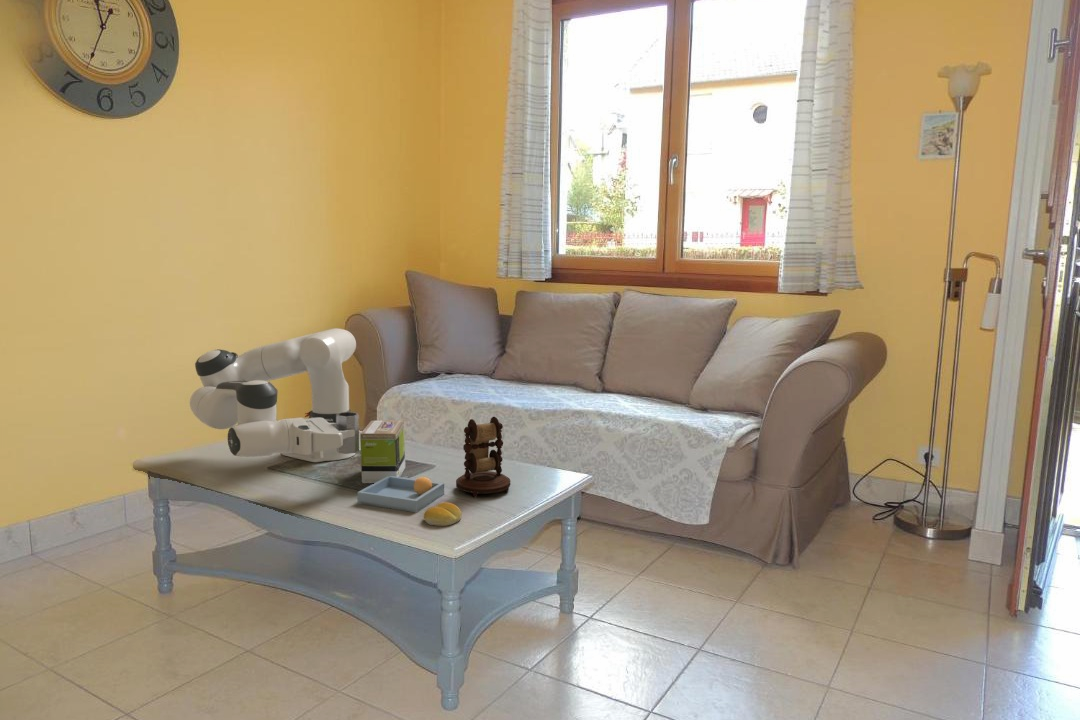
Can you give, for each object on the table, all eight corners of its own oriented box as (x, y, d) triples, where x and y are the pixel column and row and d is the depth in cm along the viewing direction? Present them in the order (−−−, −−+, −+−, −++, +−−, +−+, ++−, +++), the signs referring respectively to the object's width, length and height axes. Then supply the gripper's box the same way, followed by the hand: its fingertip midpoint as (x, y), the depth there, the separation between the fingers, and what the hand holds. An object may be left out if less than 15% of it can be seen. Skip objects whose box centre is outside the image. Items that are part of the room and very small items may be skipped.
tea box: (372, 467, 226) (371, 419, 224) (406, 468, 226) (405, 419, 224) (360, 484, 212) (359, 432, 209) (397, 484, 212) (396, 432, 209)
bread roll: (417, 522, 184) (417, 506, 184) (442, 512, 192) (442, 496, 191) (442, 530, 180) (442, 514, 179) (467, 519, 187) (467, 503, 186)
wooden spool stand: (495, 478, 219) (495, 409, 215) (520, 493, 206) (521, 421, 203) (447, 485, 211) (447, 415, 208) (470, 502, 199) (470, 427, 195)
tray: (357, 503, 196) (357, 492, 196) (388, 486, 210) (388, 475, 210) (416, 512, 190) (416, 501, 190) (444, 494, 204) (444, 483, 204)
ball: (434, 489, 204) (418, 496, 204) (427, 472, 204) (411, 480, 203) (434, 491, 199) (417, 499, 199) (427, 474, 199) (410, 482, 199)
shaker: (340, 454, 201) (340, 417, 199) (334, 449, 205) (334, 413, 203) (360, 452, 203) (360, 415, 202) (354, 447, 208) (354, 411, 206)
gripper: (288, 437, 206) (339, 432, 213) (306, 457, 189) (361, 450, 195) (287, 414, 205) (339, 409, 212) (306, 432, 188) (361, 426, 195)
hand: (350, 429), depth 204 cm, fingers closed on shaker, 5 cm apart
